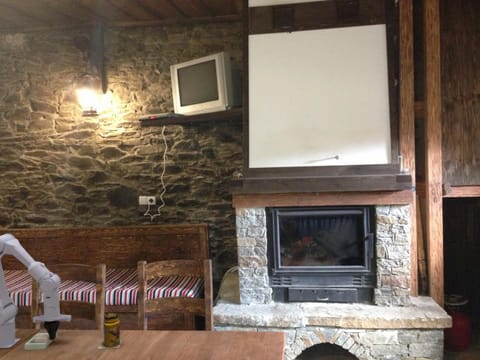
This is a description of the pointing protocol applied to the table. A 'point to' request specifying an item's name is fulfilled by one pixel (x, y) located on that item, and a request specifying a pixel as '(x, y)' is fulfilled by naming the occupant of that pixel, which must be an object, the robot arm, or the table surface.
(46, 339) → the cream square block
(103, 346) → the condiment
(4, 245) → the robot arm
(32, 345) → the box
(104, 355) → the table surface
